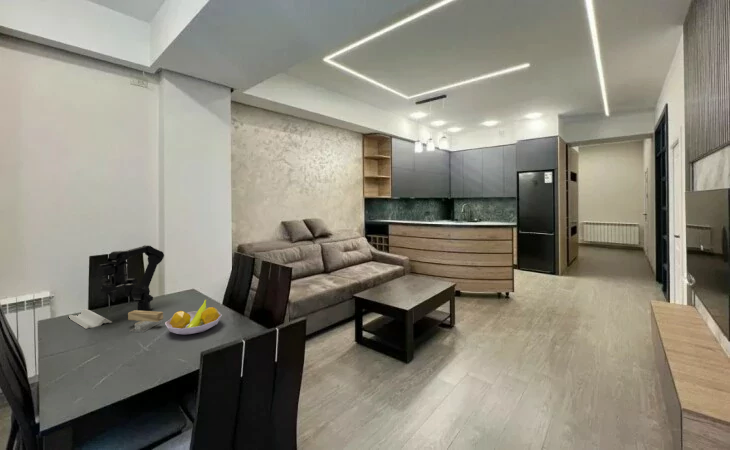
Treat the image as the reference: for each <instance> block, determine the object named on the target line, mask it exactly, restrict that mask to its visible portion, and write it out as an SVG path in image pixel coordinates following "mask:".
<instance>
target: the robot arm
mask: <svg viewBox="0 0 730 450" xmlns="http://www.w3.org/2000/svg"><path fill="white" fill-rule="evenodd" d="M142 254H144V255H146V257H147V261H148V264H147V266H146V268H145V271H144V274H143V276H142V277H141V281H140V283H139V284H138V280H137V279H136V278H126V277H127V276H128V273H126V267H125V266H126V265H128V264H129V262H128V261H127V260H129V259H130V258H132V257H135V256H138V255H142ZM164 258H165V254H164V252H163V251H161V250H159V249H157V248H154V247H153V246H152V245H146V244H145V245H142V246H139V247H134V248H130V249H126V250H117V251H116V250H115V251H111V252H110V254H109V256H108V257H107V260H105V263H104V264H99V265H98V267H97V268H96V271H95V273H96V275H97V277H98V278H102V279H100V284H101V285H102V286H101V287H100V292H101V293H106V294H107V295H108V296H109V298H110V300H111V301H112V303H115V302H116V300H117V299H116V298H117V292H118V290H117V288H120V287H124V290H125V296H126V298H129V297H130V295H131V297H132V299H133V300H134V302H135V303H137V306H136V307H137V311H151V310H153V308H152V307H151V302H152V301H153V300H154V297H153V295H151V294H150V293H151V290H150V285H151V281H152V279H153V276H154V274H155V272H156V269H157V267H158V265H160V263H161V262H162V261H163V259H164ZM108 276H110V278H106V277H108ZM104 277H105V278H104ZM136 284H138V286H136Z"/></svg>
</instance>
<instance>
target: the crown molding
mask: <svg viewBox="0 0 730 450" xmlns="http://www.w3.org/2000/svg"><path fill="white" fill-rule="evenodd" d="M80 313H81V314H80ZM80 313H79V314H77V315H78V316H77V315H73V314H71V313H70V314H69V315H68V316H69V318H70V319H69V318H68V319H69V320H71V321H73V322H74V323H75V324H78V325H79V326H81V327H82V328H84V329H87V330H88V329H89V328H91V329H93V328H96V327H100V326H101V325H103V324H107V323H109V324H111V323H113V321H112V320H110V319H108V318H105V317H104V316H103V315H100V314H98V313H96V312H94V311H92V310H90V309H87V308H84V309H83V310H82V311H81V312H80Z"/></svg>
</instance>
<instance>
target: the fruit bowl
mask: <svg viewBox="0 0 730 450" xmlns="http://www.w3.org/2000/svg"><path fill="white" fill-rule="evenodd" d="M222 316H223V314H222V313H221V312H220V311H219V310H218V308H216V307H213V306H211V307H210V306H209V307H207V299H204V301H203V303H202V305H201V306H200V307H199V308H198V310H195V311H187V312H186V311H183V310H179V311H176V312H175V313H174V314H173V315H172V317H170V318H169V319H168V320H167V321H165V323H164V324H165V326H166V328H167V329H168V332H171V333H173V334H177V335H185V336H187V335H192V334H193V335H194V334H197V333H204V332H205V331H207V330H209V329H211V328H213V327H214V326H216V325H218V323H219V321H220V320H221V318H222Z"/></svg>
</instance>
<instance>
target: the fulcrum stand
mask: <svg viewBox="0 0 730 450" xmlns="http://www.w3.org/2000/svg"><path fill="white" fill-rule="evenodd" d="M163 322H164V321H163V320H160V321H158V322H152V321H137V322H136V323H134V327H133V328H131V329H130V330H128V332H130V333H144V332H146V331H148V330H150V329H152V328H154V327H156V326H158V325H160V324H161V323H163Z"/></svg>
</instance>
